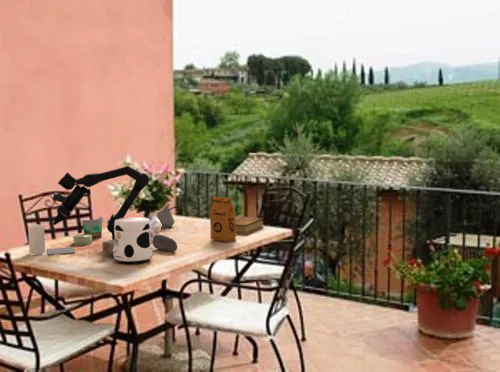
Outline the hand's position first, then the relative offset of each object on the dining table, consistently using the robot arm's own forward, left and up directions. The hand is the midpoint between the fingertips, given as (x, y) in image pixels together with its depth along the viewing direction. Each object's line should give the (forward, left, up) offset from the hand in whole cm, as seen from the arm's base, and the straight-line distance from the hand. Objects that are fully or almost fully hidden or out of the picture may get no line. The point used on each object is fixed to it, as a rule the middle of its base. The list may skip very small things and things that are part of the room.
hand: (54, 222), depth 300 cm
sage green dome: (+7, -16, -13) cm, 22 cm away
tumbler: (-2, +9, -13) cm, 16 cm away
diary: (-10, -98, -14) cm, 100 cm away
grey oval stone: (-33, -41, -13) cm, 54 cm away
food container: (+15, -26, -13) cm, 33 cm away
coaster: (-5, -1, -13) cm, 14 cm away
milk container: (-42, -20, -13) cm, 48 cm away
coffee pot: (+17, -71, -13) cm, 74 cm away
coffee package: (-30, -75, -13) cm, 82 cm away
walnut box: (-29, -16, -13) cm, 35 cm away
